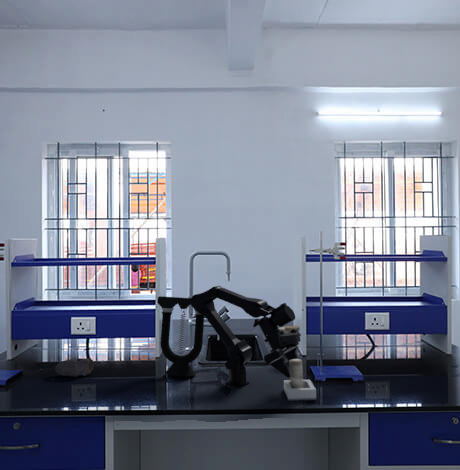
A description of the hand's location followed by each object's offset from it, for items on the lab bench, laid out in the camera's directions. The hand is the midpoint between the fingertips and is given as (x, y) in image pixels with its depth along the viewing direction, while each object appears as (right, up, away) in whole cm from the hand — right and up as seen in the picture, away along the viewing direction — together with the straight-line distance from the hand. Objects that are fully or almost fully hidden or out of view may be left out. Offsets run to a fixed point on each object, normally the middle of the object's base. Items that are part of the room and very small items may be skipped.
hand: (294, 373), depth 144 cm
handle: (+5, -7, +37) cm, 38 cm away
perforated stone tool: (-85, -9, +22) cm, 89 cm away
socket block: (+2, -7, -1) cm, 7 cm away
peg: (+1, -7, 0) cm, 7 cm away
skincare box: (+3, -7, +48) cm, 48 cm away
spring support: (-43, -7, +21) cm, 49 cm away
